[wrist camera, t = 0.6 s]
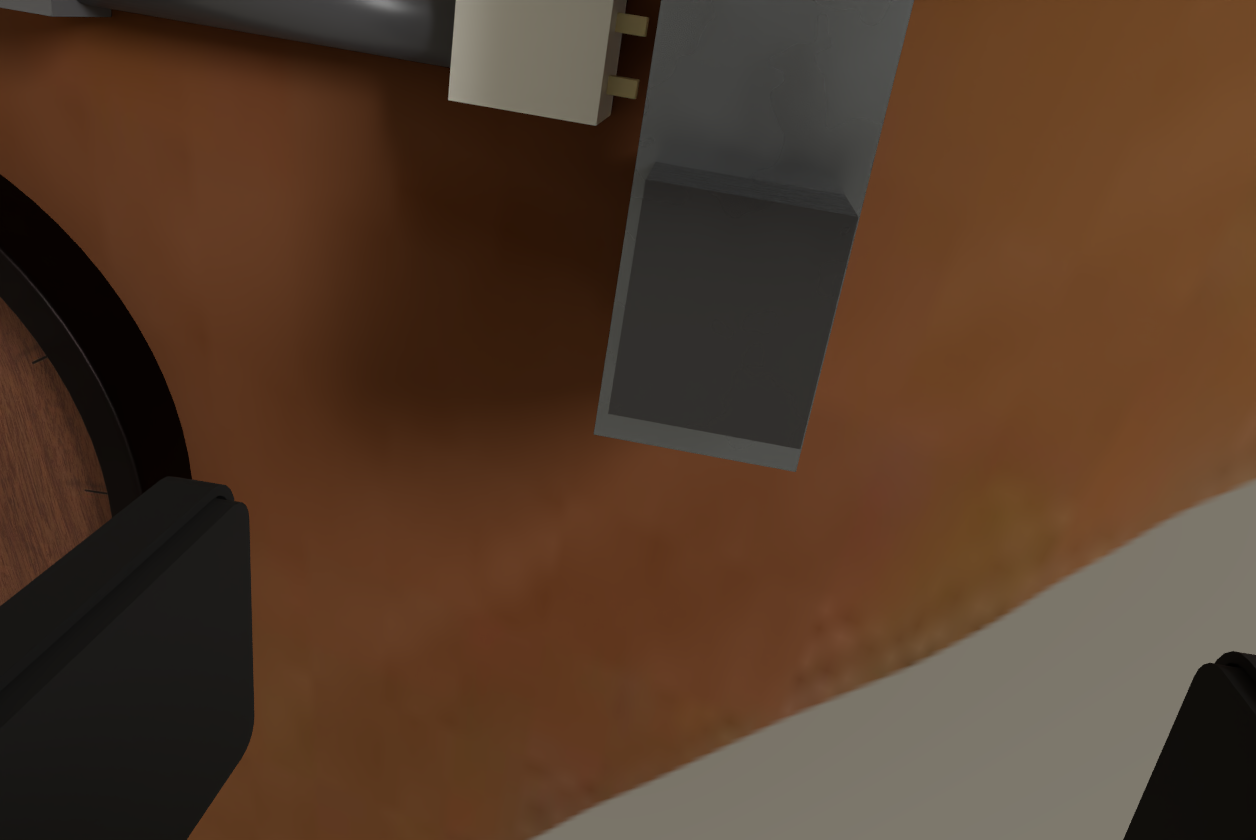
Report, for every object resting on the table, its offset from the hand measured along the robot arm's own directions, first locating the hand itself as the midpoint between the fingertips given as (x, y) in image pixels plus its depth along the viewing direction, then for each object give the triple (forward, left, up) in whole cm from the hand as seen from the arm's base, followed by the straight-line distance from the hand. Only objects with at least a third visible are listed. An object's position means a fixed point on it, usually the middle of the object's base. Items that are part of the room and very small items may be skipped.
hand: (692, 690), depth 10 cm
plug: (-4, -15, -29) cm, 33 cm away
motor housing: (-4, 0, -29) cm, 29 cm away
